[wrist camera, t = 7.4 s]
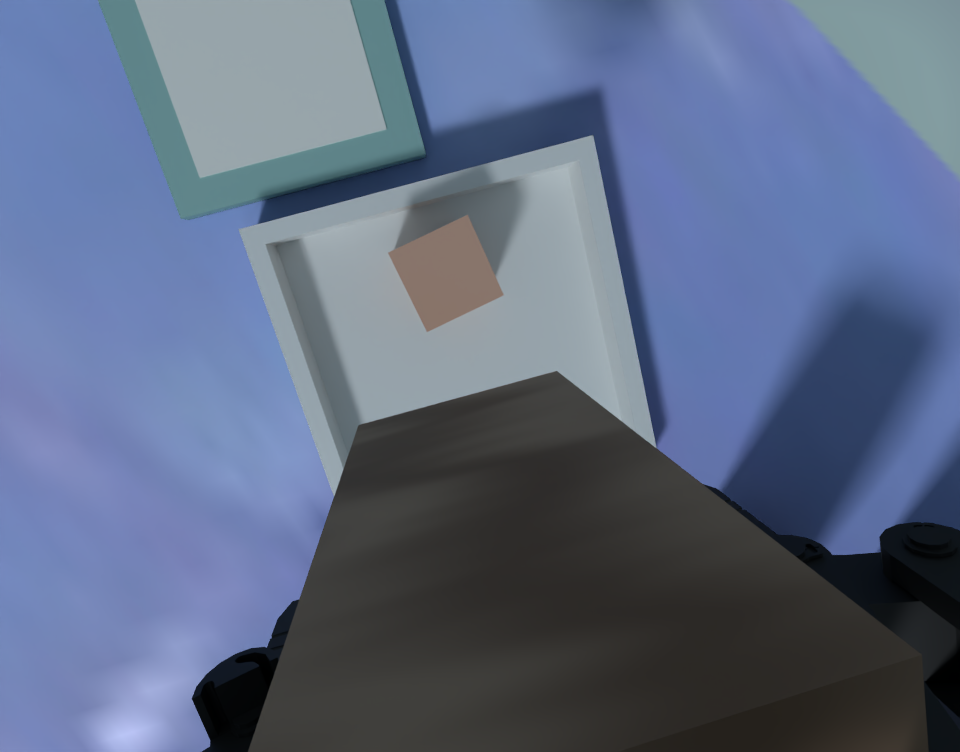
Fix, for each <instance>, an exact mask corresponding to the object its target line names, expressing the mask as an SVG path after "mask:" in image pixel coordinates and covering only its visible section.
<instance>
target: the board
mask: <svg viewBox="0 0 960 752" xmlns="http://www.w3.org/2000/svg"><path fill="white" fill-rule="evenodd" d="M98 2H99V4H100V7H101V10H102V12H103V15H104V17H105V20H106V23H107V25H108V28H109V31H110V33H111V36H112V39H113V41H114V44H115V46H116V49H117V52H118V54H119V57H120V60H121V62H122V65H123V68H124V70H125V73H126V75H127V78H128V81H129V83H130V86H131V89H132V91H133V94H134V97H135V99H136V102H137V104H138V107H139V110H140V112H141V115H142V118H143V120H144V123H145V126H146V128H147V131H148V133H149V136H150V139H151V141H152V144H153V147H154V149H155V152H156V155H157V157H158V160H159V162H160V165H161V168H162V170H163V173H164V176H165V178H166V181H167V184H168V186H169V189H170V191H171V194H172V197H173V199H174V202H175V205H176V207H177V210H178V213H179V215H180V218H181V219H186V220H190V219H194V218H198V217H202V216H205V215H209V214H213V213H217V212H221V211H224V210H228V209H232V208H236V207H239V206H243V205H247V204H251V203H255V202H258V201H262V200H266V199H270V198H274V197H277V196H281V195H285V194H289V193H292V192H296V191H300V190H304V189H308V188H311V187H315V186H319V185H323V184H327V183H330V182H334V181H338V180H342V179H346V178H349V177H353V176H357V175H361V174H364V173H368V172H372V171H376V170H380V169H383V168H387V167H391V166H395V165H399V164H402V163H406V162H410V161H414V160H417V159H421V158H425V157H426V152H425V149H424V145H423V141H422V137H421V134H420V130H419V126H418V123H417V119H416V115H415V112H414V108H413V104H412V101H411V97H410V93H409V89H408V86H407V82H406V78H405V75H404V71H403V67H402V64H401V60H400V56H399V53H398V49H397V45H396V42H395V38H394V34H393V30H392V27H391V23H390V19H389V16H388V12H387V8H386V5H385V1H384V0H98Z"/></svg>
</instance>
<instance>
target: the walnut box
mask: <svg viewBox="0 0 960 752" xmlns="http://www.w3.org/2000/svg"><path fill="white" fill-rule="evenodd" d="M248 752H929V749H928V735H927V721H926V707H925V692H924V678H923V664H922V654H920V653H919V652H918V651H916V650H915V649H914V648H913V647H911V646H910V645H909V644H907V643H906V642H905V641H904V640H902V639H901V638H900V637H898V636H897V635H896V634H895V633H893V632H892V631H891V630H889V629H888V628H887V627H886V626H884V625H883V624H882V623H880V622H879V621H878V620H877V619H875V618H874V617H873V616H871V615H870V614H869V613H868V612H866V611H865V610H864V609H862V608H861V607H860V606H859V605H857V604H856V603H855V602H853V601H852V600H851V599H850V598H848V597H847V596H846V595H844V594H843V593H842V592H841V591H839V590H838V589H837V588H835V587H834V586H833V585H832V584H830V583H829V582H828V581H826V580H825V579H824V578H823V577H821V576H820V575H819V574H817V573H816V572H815V571H814V570H812V569H811V568H810V567H808V566H807V565H806V564H805V563H803V562H802V561H801V560H799V559H798V558H797V557H796V556H794V555H793V554H792V553H790V552H789V551H788V550H787V549H785V548H784V547H783V546H781V545H780V544H779V543H778V542H776V541H775V540H774V539H772V538H771V537H770V536H769V535H767V534H766V533H765V532H763V531H762V530H761V529H760V528H758V527H757V526H756V525H754V524H753V523H752V522H751V521H749V520H748V519H747V518H745V517H744V516H743V515H742V514H740V513H739V512H738V511H736V510H735V509H734V508H733V507H731V506H730V505H729V504H727V503H726V502H725V501H724V500H722V499H721V498H720V497H718V496H717V495H716V494H715V493H713V492H712V491H711V490H709V489H708V488H707V487H706V486H704V485H703V484H702V483H700V482H699V481H698V480H697V479H695V478H694V477H693V476H691V475H690V474H689V473H688V472H686V471H685V470H684V469H682V468H681V467H680V466H679V465H677V464H676V463H675V462H673V461H672V460H671V459H670V458H668V457H667V456H666V455H664V454H663V453H662V452H661V451H659V450H658V449H657V448H655V447H654V446H653V445H652V444H650V443H649V442H648V441H646V440H645V439H644V438H643V437H641V436H640V435H639V434H637V433H636V432H635V431H633V430H632V429H631V428H630V427H628V426H627V425H626V424H624V423H623V422H622V421H621V420H619V419H618V418H617V417H615V416H614V415H613V414H612V413H610V412H609V411H608V410H606V409H605V408H604V407H603V406H601V405H600V404H599V403H597V402H596V401H595V400H594V399H592V398H591V397H590V396H588V395H587V394H586V393H585V392H583V391H582V390H581V389H579V388H578V387H577V386H576V385H574V384H573V383H572V382H570V381H569V380H568V379H567V378H565V377H564V376H563V375H561V374H560V373H559V372H558V371H554V372H551V373H547V374H543V375H540V376H536V377H532V378H529V379H525V380H522V381H518V382H514V383H511V384H507V385H503V386H500V387H496V388H492V389H489V390H485V391H481V392H478V393H474V394H470V395H467V396H463V397H459V398H456V399H452V400H448V401H445V402H441V403H437V404H434V405H430V406H426V407H423V408H419V409H415V410H412V411H408V412H404V413H401V414H397V415H393V416H390V417H386V418H382V419H379V420H375V421H372V422H368V423H364V424H361V425H358V428H357V431H356V434H355V437H354V440H353V443H352V445H351V448H350V451H349V454H348V457H347V460H346V463H345V466H344V469H343V472H342V475H341V478H340V481H339V484H338V487H337V490H336V493H335V496H334V499H333V502H332V505H331V508H330V511H329V514H328V516H327V519H326V522H325V525H324V528H323V531H322V534H321V537H320V540H319V543H318V546H317V549H316V552H315V555H314V558H313V561H312V564H311V567H310V570H309V573H308V576H307V579H306V582H305V585H304V587H303V590H302V593H301V596H300V599H299V602H298V605H297V608H296V611H295V614H294V617H293V620H292V623H291V626H290V629H289V632H288V635H287V638H286V641H285V644H284V647H283V650H282V653H281V656H280V658H279V661H278V664H277V667H276V670H275V673H274V676H273V679H272V682H271V685H270V688H269V691H268V694H267V697H266V700H265V703H264V706H263V709H262V712H261V715H260V718H259V721H258V724H257V727H256V729H255V732H254V735H253V738H252V741H251V744H250V747H249V750H248Z"/></svg>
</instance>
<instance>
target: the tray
mask: <svg viewBox="0 0 960 752" xmlns="http://www.w3.org/2000/svg"><path fill="white" fill-rule="evenodd" d="M466 215H468V216H469V219H470V221H471V223H472V225H473V228H474V230H475V232H476V234H477V236H478V239H479V241H480V243H481V245H482V248H483V250H484V252H485V254H486V256H487V259H488V261H489V263H490V265H491V268H492V270H493V272H494V274H495V277H496V279H497V281H498V283H499V285H500V288H501V290H502V292H503V294H504V295H503V296H501V297H499V298H497V299H495V300H493V301H491V302H489V303H487V304H485V305H483V306H480V307H478V308H476V309H474V310H472V311H470V312H468V313H466V314H464V315H462V316H460V317H458V318H455V319H453V320H451V321H449V322H447V323H445V324H443V325H441V326H439V327H437V328H435V329H433V330H430V331H428V332H427V331H426V329H425V327H424V325H423V323H422V321H421V319H420V317H419V315H418V313H417V311H416V309H415V307H414V305H413V303H412V301H411V299H410V297H409V295H408V293H407V291H406V289H405V286H404V284H403V282H402V280H401V278H400V276H399V274H398V272H397V270H396V268H395V266H394V264H393V262H392V260H391V258H390V256H389V254H388V252H391V251H393V250H395V249H397V248H399V247H401V246H403V245H405V244H407V243H409V242H411V241H414V240H416V239H418V238H420V237H422V236H424V235H426V234H428V233H430V232H432V231H435V230H437V229H439V228H441V227H443V226H445V225H447V224H449V223H451V222H453V221H455V220H458V219H460V218H462V217H464V216H466ZM239 232H240V235H241V237H242V240H243V243H244V246H245V249H246V251H247V254H248V257H249V260H250V263H251V265H252V268H253V271H254V274H255V277H256V279H257V282H258V285H259V288H260V291H261V293H262V296H263V299H264V302H265V305H266V307H267V310H268V313H269V316H270V319H271V321H272V324H273V327H274V330H275V333H276V335H277V338H278V341H279V344H280V347H281V349H282V352H283V355H284V358H285V361H286V363H287V366H288V369H289V372H290V375H291V377H292V380H293V383H294V386H295V389H296V391H297V394H298V397H299V400H300V403H301V405H302V408H303V411H304V414H305V417H306V419H307V422H308V425H309V428H310V431H311V433H312V436H313V439H314V442H315V445H316V447H317V450H318V453H319V456H320V459H321V461H322V464H323V467H324V470H325V473H326V475H327V478H328V481H329V484H330V487H331V489H332V492H333V495H334V496H335V493H336V490H337V487H338V484H339V481H340V478H341V475H342V472H343V469H344V466H345V463H346V460H347V457H348V454H349V451H350V448H351V445H352V443H353V440H354V437H355V434H356V431H357V428H358V425H361V424H364V423H368V422H372V421H375V420H379V419H382V418H386V417H390V416H393V415H397V414H401V413H404V412H408V411H412V410H415V409H419V408H423V407H426V406H430V405H434V404H437V403H441V402H445V401H448V400H452V399H456V398H459V397H463V396H467V395H470V394H474V393H478V392H481V391H485V390H489V389H492V388H496V387H500V386H503V385H507V384H511V383H514V382H518V381H522V380H525V379H529V378H532V377H536V376H540V375H543V374H547V373H551V372H554V371H558V372H559V373H560V374H561V375H563V376H564V377H565V378H567V379H568V380H569V381H570V382H572V383H573V384H574V385H576V386H577V387H578V388H579V389H581V390H582V391H583V392H585V393H586V394H587V395H588V396H590V397H591V398H592V399H594V400H595V401H596V402H597V403H599V404H600V405H601V406H603V407H604V408H605V409H606V410H608V411H609V412H610V413H612V414H613V415H614V416H615V417H617V418H618V419H619V420H621V421H622V422H623V423H624V424H626V425H627V426H628V427H630V428H631V429H632V430H633V431H635V432H636V433H637V434H639V435H640V436H641V437H643V438H644V439H645V440H646V441H648V442H649V443H650V444H652V445H653V446H654V447H655V448H656V443H655V438H654V433H653V428H652V423H651V418H650V413H649V409H648V404H647V399H646V394H645V389H644V384H643V379H642V374H641V369H640V364H639V359H638V354H637V349H636V344H635V339H634V334H633V329H632V325H631V320H630V315H629V310H628V305H627V300H626V295H625V290H624V285H623V280H622V275H621V270H620V265H619V260H618V255H617V250H616V245H615V240H614V236H613V231H612V226H611V221H610V216H609V211H608V206H607V201H606V196H605V191H604V186H603V181H602V176H601V171H600V166H599V161H598V156H597V151H596V147H595V142H594V137H593V135H592V136H588V137H584V138H580V139H576V140H573V141H569V142H565V143H561V144H558V145H554V146H550V147H546V148H543V149H539V150H535V151H531V152H528V153H524V154H520V155H516V156H513V157H509V158H505V159H501V160H498V161H494V162H490V163H486V164H483V165H479V166H475V167H471V168H467V169H464V170H460V171H456V172H452V173H449V174H445V175H441V176H437V177H434V178H430V179H426V180H422V181H419V182H415V183H411V184H407V185H404V186H400V187H396V188H392V189H389V190H385V191H381V192H377V193H374V194H370V195H366V196H362V197H359V198H355V199H351V200H347V201H343V202H340V203H336V204H332V205H328V206H325V207H321V208H317V209H313V210H310V211H306V212H302V213H298V214H295V215H291V216H287V217H283V218H280V219H276V220H272V221H268V222H265V223H261V224H257V225H253V226H250V227H246V228H242V229H239Z"/></svg>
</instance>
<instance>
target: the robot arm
mask: <svg viewBox="0 0 960 752" xmlns="http://www.w3.org/2000/svg"><path fill="white" fill-rule="evenodd" d="M703 485H704V484H703ZM704 486H706V487H707V488H708V489H709V490H711V491H712V492H713V493H715V494H716V495H717V496H718V497H720V498H721V499H722V500H724V501H725V502H726V503H727V504H729V505H730V506H731V507H733V508H734V509H735V510H736V511H738V512H739V513H740V514H742V515H743V516H744V517H745V518H747V519H748V520H749V521H751V522H752V523H753V524H754V525H756V526H757V527H758V528H760V529H761V530H762V531H763V532H765V533H766V534H767V535H769V536H770V537H771V538H772V539H774V540H775V541H776V542H778V543H779V544H780V545H781V546H783V547H784V548H785V549H787V550H788V551H789V552H790V553H792V554H793V555H794V556H796V557H797V558H798V559H799V560H801V561H802V562H803V563H805V564H806V565H807V566H808V567H810V568H811V569H812V570H814V571H815V572H816V573H817V574H819V575H820V576H821V577H823V578H824V579H825V580H826V581H828V582H829V583H830V584H832V585H833V586H834V587H835V588H837V589H838V590H839V591H841V592H842V593H843V594H844V595H846V596H847V597H848V598H850V599H851V600H852V601H853V602H855V603H856V604H857V605H859V606H860V607H861V608H862V609H864V610H865V611H866V612H868V613H869V614H870V615H871V616H873V617H874V618H875V619H877V620H878V621H879V622H880V623H882V624H883V625H884V626H886V627H887V628H888V629H889V630H891V631H892V632H893V633H895V634H896V635H897V636H898V637H900V638H901V639H902V640H904V641H905V642H906V643H907V644H909V645H910V646H911V647H913V648H914V649H915V650H916V651H918V652H919V653H920V654H922V664H923V678H924V692H925V707H926V721H927V735H928V749H929V752H960V531H959V530H956V529H954V528H952V527H947V526H942V525H938V524H934V523H925V522H924V523H921V522H913V523H906V524H898V525H895V526H893V527H890V528H888V529H886V530H885V531H884V532H883V533H882V534H881V536H880V547H881V552H879V553H866V554H853V555H832V554H831V553H830V552H829V551H828V550H827V549H826V548H825V547H824V546H822V545H821V544H820V543H817V542H815V541H813V540H810V539H808V538H804V537H799V536H793V535H777V534H776V533H775V532H773V531H772V530H771V529H769V528H768V527H767V526H765V525H764V524H763V523H761V522H760V521H759V520H757V519H756V518H755V517H753V516H752V515H751V514H750V513H748V512H747V511H746V510H742V507H740V506H739V505H738V504H736V503H735V502H734V501H731V500H730V498H728V497H727V496H726V495H724V494H723V493H722V492H720V491H719V490H718V489H716V488H713V487H710V486H707V485H704ZM298 602H299V600H296V601H293V602H292V603H291V604H290V605H289V606H288V607H287V609H286V610H285V611H284V612H283V613H282V615H281V616H280V617H279V618H278V620H277V623H276V625H275V628H274V630H273V633H272V639H270V641H269V644H268V646H267V648H266V647H259V648H251V649H248V650H245V651H242V652H239V653H237V654H235V655H233V656H231V657H229V658H228V659H226V660H224V661H223V662H221V663H219V664H218V665H217V666H216V667H215V668H213V669H212V670H211V671H210V672H209V673H207V674H206V676H205V677H204V678H203V679H202V681H201V682H200V683H199V684H198V686H197V687H196V689H195V692H194V695H193V697H192V700H193V702H194V705H195V707H196V709H197V711H198V714H199V716H200V718H201V720H202V723H203V725H204V727H205V729H206V732H207V734H208V736H209V738H210V740H211V741H210V747H209V748H207V749H205V750H204V751H202V752H248V750H249V747H250V744H251V741H252V738H253V735H254V732H255V729H256V727H257V724H258V721H259V718H260V715H261V712H262V709H263V706H264V703H265V700H266V697H267V694H268V691H269V688H270V685H271V682H272V679H273V676H274V673H275V670H276V667H277V664H278V661H279V658H280V656H281V653H282V650H283V647H284V644H285V641H286V638H287V635H288V632H289V629H290V626H291V623H292V620H293V617H294V614H295V611H296V608H297V605H298Z"/></svg>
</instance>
